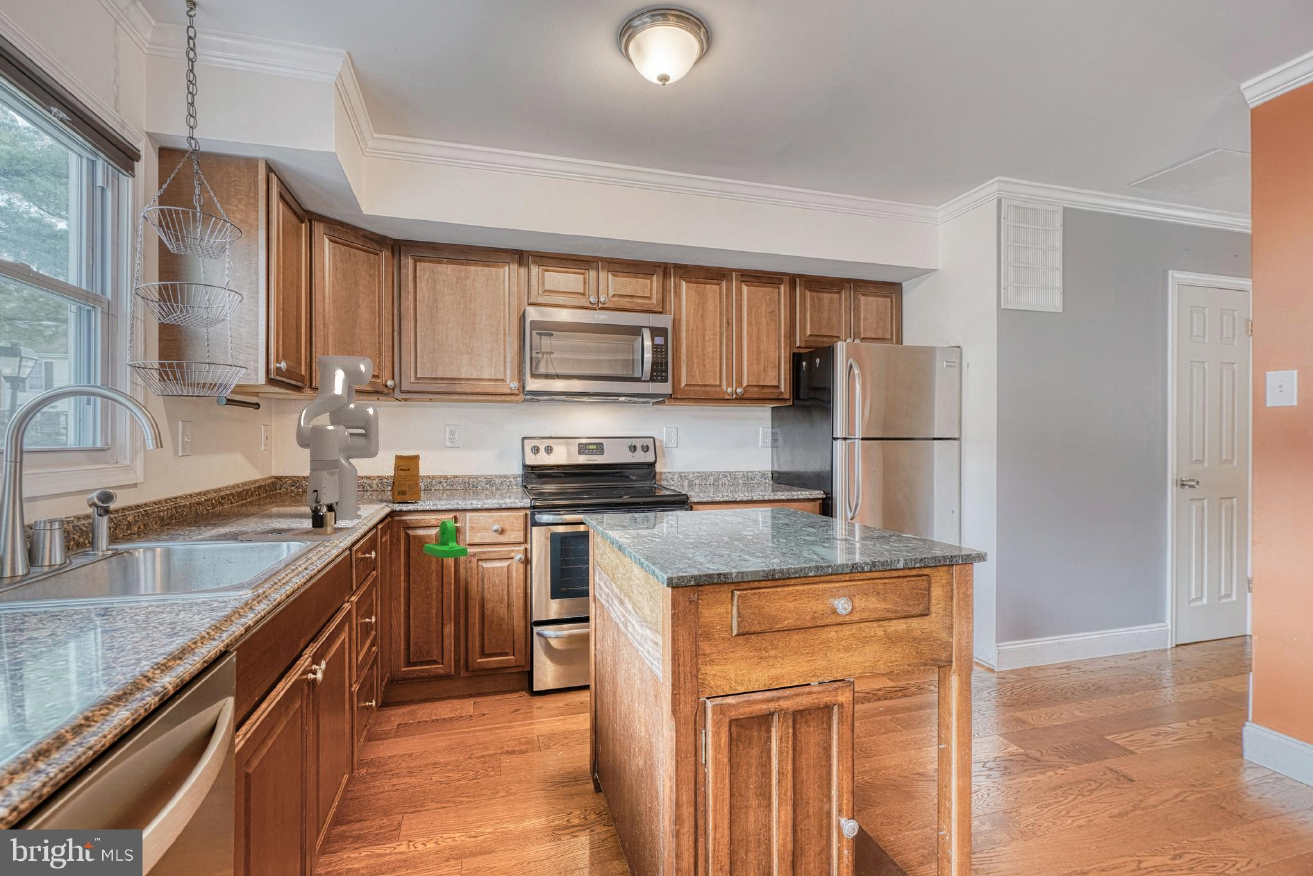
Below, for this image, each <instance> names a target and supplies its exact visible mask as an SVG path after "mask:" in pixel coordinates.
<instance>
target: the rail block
mask: <svg viewBox="0 0 1313 876" xmlns="http://www.w3.org/2000/svg"><path fill="white" fill-rule="evenodd" d="M271 533H283V534H271ZM356 533H358V527H356V526H355V527H354V526H343V527H342V526H334V532H332V533H325V534H314V528H312V527H270V528H266V529H265V528H264V529H262V530H258V531H253V532H249V533H244V534H241V535H238V536H237V541H238V540H255V541H254V542H323V541H324V542H331V541H334V540H337V539H340V538H344V537H347V536H350V535H353V534H356ZM269 534H271V535H269ZM256 540H257V541H256Z"/></svg>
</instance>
